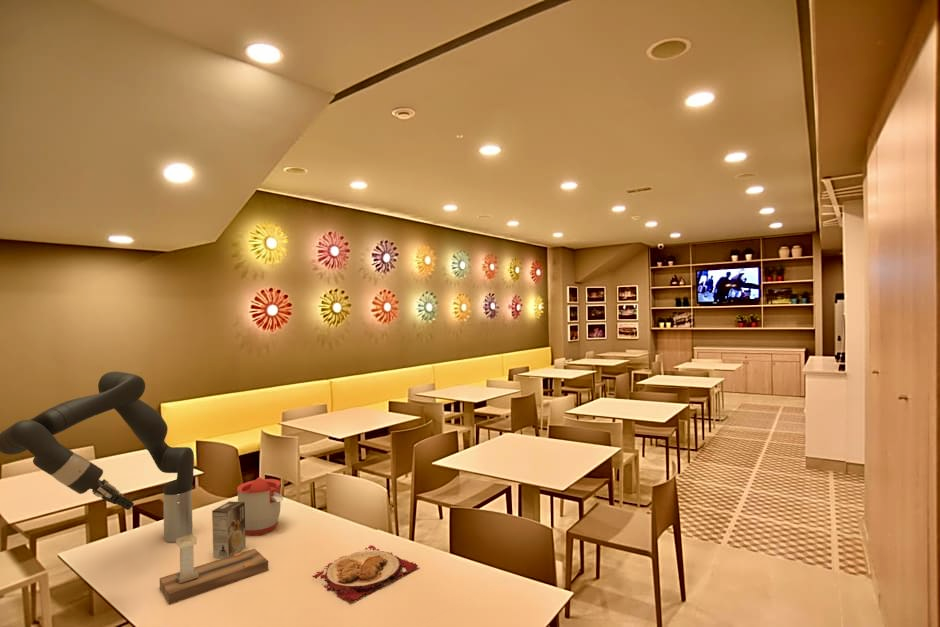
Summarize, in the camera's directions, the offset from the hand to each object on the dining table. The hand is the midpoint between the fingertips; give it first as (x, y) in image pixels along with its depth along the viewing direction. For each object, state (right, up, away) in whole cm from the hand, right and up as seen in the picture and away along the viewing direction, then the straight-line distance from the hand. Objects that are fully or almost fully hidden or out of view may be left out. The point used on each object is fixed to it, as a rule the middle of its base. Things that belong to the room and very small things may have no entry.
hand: (130, 506), depth 146 cm
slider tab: (+13, -24, +6) cm, 28 cm away
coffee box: (+14, -27, +30) cm, 43 cm away
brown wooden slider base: (+19, -27, +12) cm, 35 cm away
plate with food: (+63, -27, +15) cm, 70 cm away
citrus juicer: (+18, -27, +48) cm, 58 cm away
